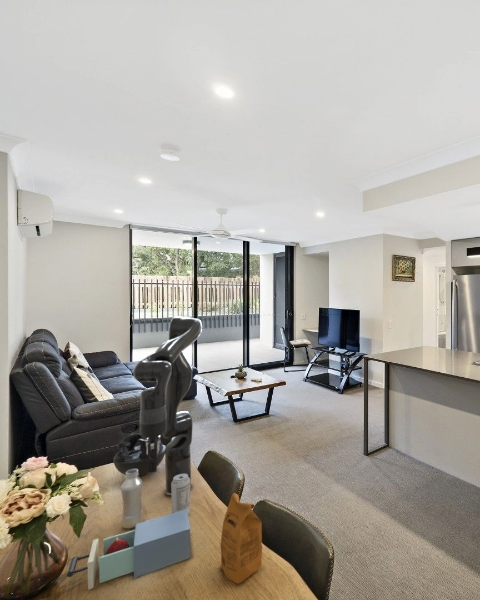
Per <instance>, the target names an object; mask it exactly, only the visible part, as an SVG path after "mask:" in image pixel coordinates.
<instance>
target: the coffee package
mask: <svg viewBox="0 0 480 600" xmlns="http://www.w3.org/2000/svg"><path fill="white" fill-rule="evenodd" d="M253 509H255V504H254V503H248V502H247V503H246V502H241V500H240V497H239V494H238V493H236V492H233V493H232V495H231V496H230V500H229V502H228V505H227V509H226V512H225V515H224V518H223V521H222V526H221V527H222V529H221V536H220V537H221V538H220V545H219V546H220V547H219V548H220V569H221V570H222V571H223V573H224V575H225V576H226V578H227V579H228V580H229V581H232V582H234V583H235V584H237V585H238V584H241V583H242V582H244V581H245V580H246V579H248V578H249V577H250V576H251V575H253V574H254V573H257V571H259V570H260V568H262V566H263V563H262V562H263V561H262V558H263V544H262V543H263V542H262V541H263V533H262V531H263V530H262V527H263V522H262V521H261V519H260V518H259V516H257V515H256V513H254V510H253Z"/></svg>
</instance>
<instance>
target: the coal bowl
mask: <svg viewBox="0 0 480 600" xmlns="http://www.w3.org/2000/svg"><path fill="white" fill-rule="evenodd" d="M143 438H144V437H143V436H141V435H140V432H138V433H137V432H135V433H131V434H129V435H128V436H125V437H123V438H122V439H121V440H120V441H118V443H117V451H116V454H115V455H114V456H113V459H112V461H113V465H114V467H115V469H116V470H117V472H119V473H120V474H122V475H123V476H126V472H127V471H129V470H132V469H138V477H141V476H144V475H147V474H150V473H149V462H147V460H148V455H147V447H146V439H143ZM138 443H139V445H137V444H138ZM136 445H137V446H136ZM165 448H166V445H164V444H163V443H162V442H161V441H160V445H159V453H158V460H157V467H159V465H161V463H162V462H163V460H164V459H165Z"/></svg>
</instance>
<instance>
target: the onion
mask: <svg viewBox="0 0 480 600" xmlns="http://www.w3.org/2000/svg"><path fill="white" fill-rule="evenodd" d="M127 548H130V547H129V544H128V543H127V541H125V540H120V539H119V538H116V539H115V542H114V543H112V544H111V545H110V546H109V548H108V549H107V552H106V555H108V554H111V553H114V552H117V551H120V550H123V549H127Z"/></svg>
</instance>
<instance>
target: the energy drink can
mask: <svg viewBox="0 0 480 600" xmlns="http://www.w3.org/2000/svg"><path fill="white" fill-rule="evenodd" d="M171 492H172V496H171V514H172V513H176V512H179V511H182V510H186V509H187V510H188V515H189V514H190V512H191V488H190V478H189V477H188V474H179V475H176V476H175V477H174V478H173V481H172V483H171Z"/></svg>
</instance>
